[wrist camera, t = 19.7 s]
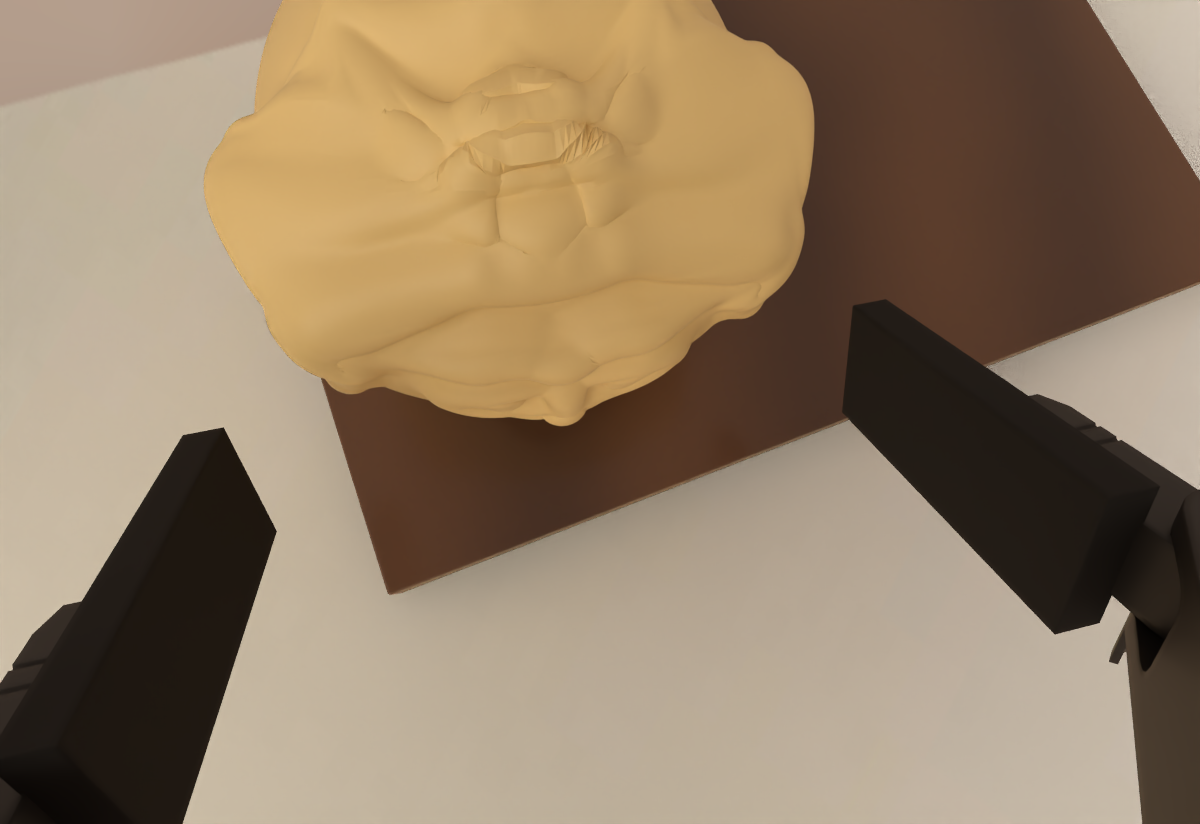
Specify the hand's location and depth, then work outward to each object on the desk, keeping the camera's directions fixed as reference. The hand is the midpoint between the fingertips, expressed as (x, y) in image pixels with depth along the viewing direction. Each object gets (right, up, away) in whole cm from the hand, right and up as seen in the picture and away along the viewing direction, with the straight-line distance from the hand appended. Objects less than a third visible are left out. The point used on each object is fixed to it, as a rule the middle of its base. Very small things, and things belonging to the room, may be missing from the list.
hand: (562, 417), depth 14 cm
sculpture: (-1, +5, +7) cm, 9 cm away
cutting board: (+6, +7, +9) cm, 13 cm away
